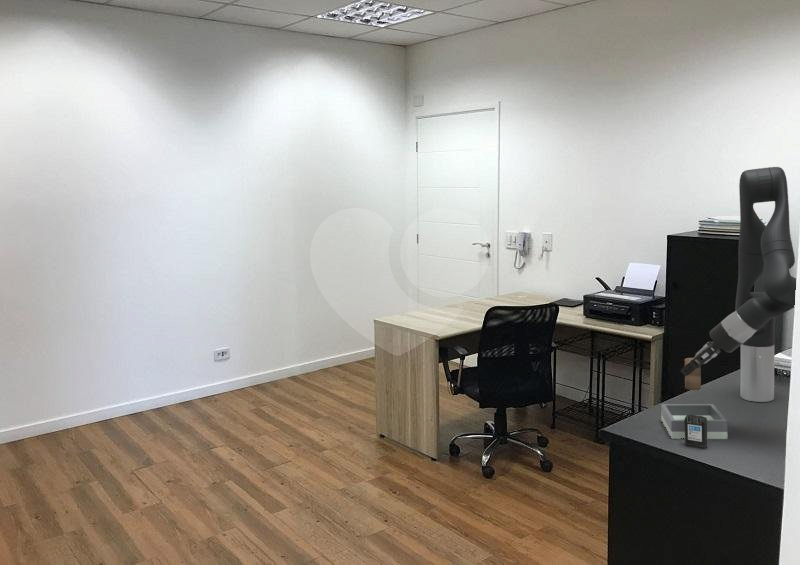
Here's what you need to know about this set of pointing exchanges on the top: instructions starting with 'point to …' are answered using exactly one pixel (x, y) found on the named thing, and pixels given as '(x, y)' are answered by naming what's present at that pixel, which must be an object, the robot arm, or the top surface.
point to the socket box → (677, 412)
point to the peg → (693, 377)
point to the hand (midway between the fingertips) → (685, 371)
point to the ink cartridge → (695, 431)
